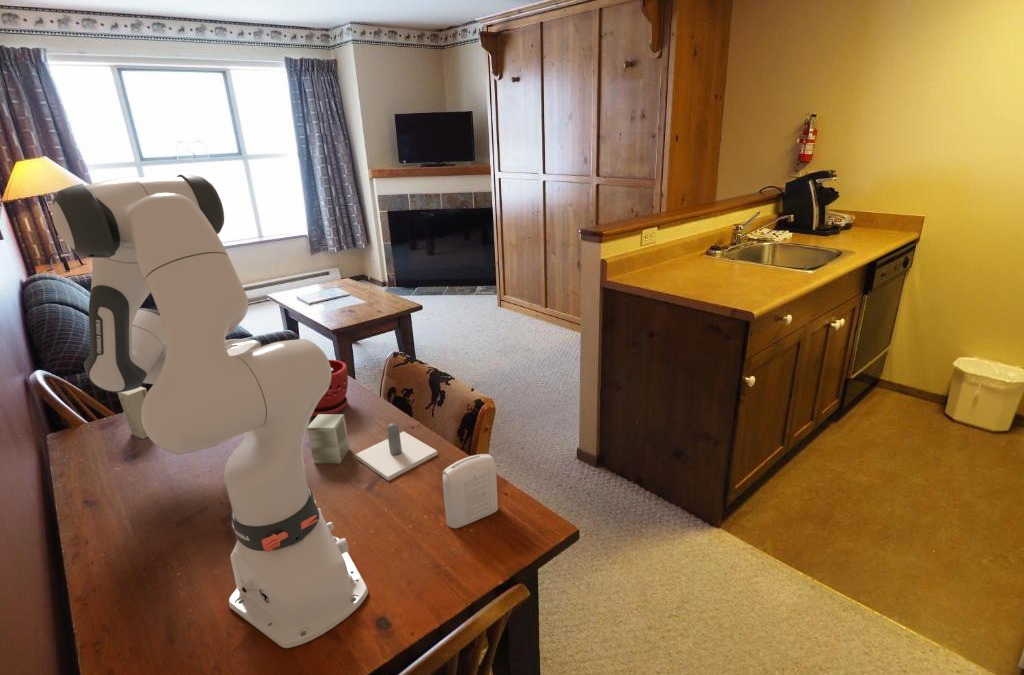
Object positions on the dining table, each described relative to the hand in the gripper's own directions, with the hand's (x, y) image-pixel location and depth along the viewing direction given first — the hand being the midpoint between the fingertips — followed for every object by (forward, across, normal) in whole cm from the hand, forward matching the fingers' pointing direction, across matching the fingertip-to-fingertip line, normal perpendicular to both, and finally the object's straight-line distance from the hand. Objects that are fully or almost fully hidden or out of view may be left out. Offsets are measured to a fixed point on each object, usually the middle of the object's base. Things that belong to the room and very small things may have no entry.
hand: (260, 365), depth 116 cm
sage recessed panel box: (+13, 0, +22) cm, 26 cm away
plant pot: (+2, +22, +23) cm, 32 cm away
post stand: (+28, 0, +22) cm, 35 cm away
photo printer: (+48, -20, +22) cm, 56 cm away
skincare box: (-40, +9, +24) cm, 47 cm away
